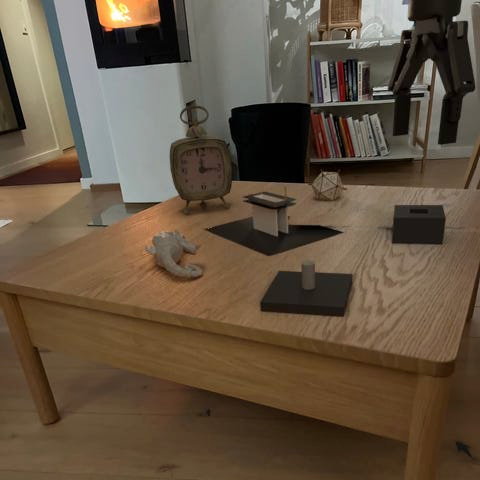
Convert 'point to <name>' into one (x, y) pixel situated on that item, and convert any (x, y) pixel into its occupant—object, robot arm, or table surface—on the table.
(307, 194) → the table surface
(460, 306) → the table surface
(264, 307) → the base pad
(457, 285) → the table surface
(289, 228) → the architectural model
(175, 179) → the tabletop clock
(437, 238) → the black square block
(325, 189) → the game die
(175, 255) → the seahorse
